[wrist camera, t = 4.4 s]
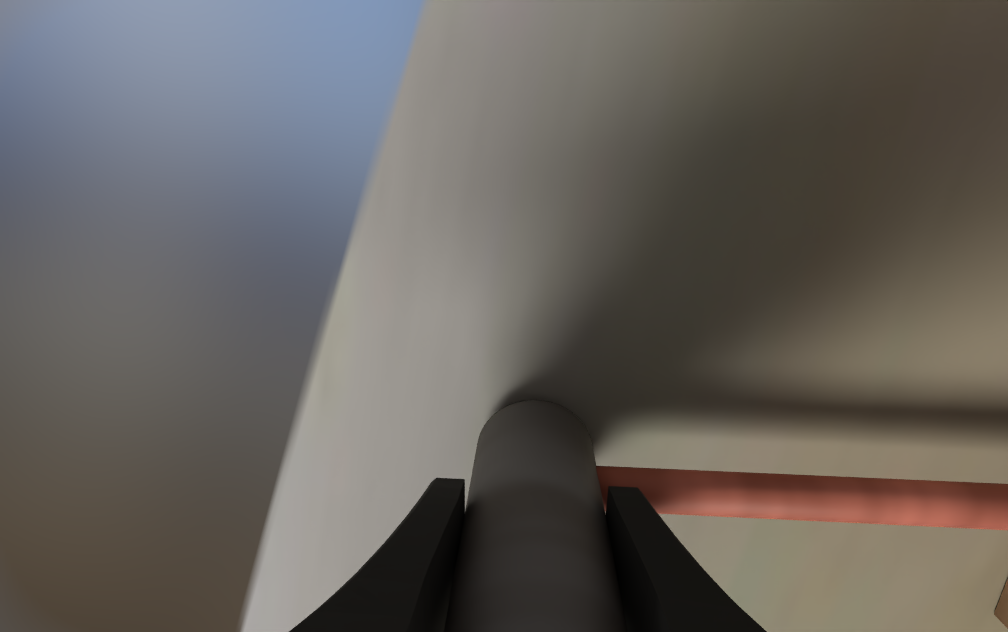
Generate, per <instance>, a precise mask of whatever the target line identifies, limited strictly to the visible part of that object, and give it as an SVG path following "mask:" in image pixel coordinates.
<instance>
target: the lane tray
mask: <svg viewBox="0 0 1008 632" xmlns="http://www.w3.org/2000/svg"><path fill="white" fill-rule="evenodd" d="M994 615H995V616H996V617H997V618H998V619H999V620H1000V621H1001V622H1002V623H1003V624H1004V625H1005V626H1006V627H1007V628H1008V579H1007V582H1006V584H1005V587H1004V589H1003V592H1002V595H1001V597H1000V600H999V602H998V605H997V607H996V610H995V613H994Z"/></svg>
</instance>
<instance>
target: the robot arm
mask: <svg viewBox="0 0 1008 632" xmlns="http://www.w3.org/2000/svg"><path fill="white" fill-rule="evenodd" d="M464 516H465V479H448V478H436V479H435V480H433V481H432V482H431V483H430V485H429V486H428V488H427V489H426V491H425V492H424V494H423V495H422V496H421V498H420V499H419V501H418V502H417V503H416V505H415V506H414V507H413V508H412V510H411V511H410V512H409V514H408V515H407V516H406V518H405V519H404V520H403V521H402V522H401V524H400V525H399V526H398V527H397V528H396V530H395V531H394V532H393V533H392V534H391V536H390V537H389V538H388V539H387V540H386V542H385V543H384V544H383V545H382V546H381V547H380V548H379V549H378V550H377V551H376V552H375V554H374V555H373V556H372V557H371V558H370V559H369V560H368V561H367V562H366V563H365V564H364V565H363V566H362V567H361V568H360V570H359V571H358V572H357V573H356V574H355V575H354V576H353V577H352V578H350V579H349V580H348V581H347V582H346V583H345V584H344V585H343V586H342V587H341V588H340V589H339V590H338V591H337V592H336V593H335V594H334V595H332V596H331V597H330V598H329V599H328V600H327V601H326V602H325V603H323V604H322V605H321V606H320V607H319V608H318V609H317V610H315V611H314V612H313V613H312V614H310V615H309V616H308V617H307V618H305V619H304V620H303V621H302V622H301V623H299V624H298V625H297V626H296V627H294V628H293V629H292V630H291V631H289V632H444V628H445V622H446V617H447V611H448V606H449V600H450V594H451V589H452V583H453V578H454V572H455V566H456V561H457V555H458V550H459V544H460V538H461V533H462V527H463V522H464ZM606 520H607V525H608V531H609V536H610V541H611V547H612V552H613V557H614V562H615V568H616V573H617V578H618V584H619V589H620V594H621V600H622V605H623V610H624V615H625V621H626V626H627V631H628V632H766V631H765V630H764V629H763V628H762V627H761V626H760V625H759V624H758V623H757V622H755V621H754V620H753V619H752V618H751V617H750V616H749V615H748V614H747V613H746V612H744V611H743V610H742V609H741V608H740V607H739V606H738V605H737V604H736V603H735V602H734V601H733V600H732V599H731V598H730V597H729V596H728V595H727V594H726V593H725V592H724V591H723V590H722V589H721V588H720V587H719V585H718V584H717V583H716V582H715V581H714V580H713V579H712V578H711V577H710V576H709V575H708V574H707V573H706V571H705V570H704V569H703V568H702V567H701V566H700V565H699V564H698V562H697V561H696V560H695V559H694V558H693V556H692V555H691V554H690V553H689V552H688V551H687V549H686V548H685V547H684V546H683V545H682V544H681V542H680V541H679V540H678V539H677V537H676V536H675V535H674V534H673V532H672V531H671V530H670V529H669V527H668V526H667V525H666V524H665V522H664V521H663V520H662V518H661V517H660V516H659V514H658V513H657V512H656V510H655V509H654V508H653V506H652V505H651V504H650V502H649V501H648V500H647V498H646V497H645V496H644V494H643V493H642V492H641V491H640V490H639V488H638V487H619V486H608V495H607V505H606Z"/></svg>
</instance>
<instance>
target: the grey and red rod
mask: <svg viewBox="0 0 1008 632" xmlns="http://www.w3.org/2000/svg"><path fill="white" fill-rule="evenodd" d="M608 486H619V487H638V488H639V490H640V491H641V492H642V493H643V494H644V496H645V497H646V498H647V500H648V501H649V502H650V504H651V505H652V506H653V508H654V509H655V510H656V512H657V513H659V514H680V515H701V516H722V517H743V518H764V519H785V520H806V521H827V522H848V523H869V524H890V525H911V526H932V527H953V528H974V529H995V530H1008V484H995V483H972V482H949V481H927V480H904V479H881V478H859V477H836V476H814V475H791V474H768V473H746V472H723V471H700V470H678V469H655V468H633V467H610V466H596V462H595V457H594V451H593V446H592V441H591V438H590V435H589V433H588V430H587V429H586V427H585V426H584V424H583V423H582V422H581V420H580V419H579V418H578V417H577V416H576V415H574V414H573V413H572V412H570V411H569V410H567V409H566V408H564V407H562V406H560V405H557V404H554V403H551V402H546V401H538V400H530V401H522V402H518V403H514V404H511V405H509V406H506V407H505V408H503V409H501V410H499V411H498V412H497V413H495V414H494V415H493V416H492V417H491V418H490V419H489V420H488V421H487V423H486V424H485V425H484V427H483V429H482V431H481V433H480V436H479V439H478V443H477V449H476V454H475V460H474V466H473V471H472V477H471V482H470V488H469V494H468V499H467V505H466V510H465V516H464V522H463V527H462V533H461V538H460V544H459V550H458V555H457V561H456V566H455V572H454V578H453V583H452V589H451V594H450V600H449V606H448V611H447V617H446V622H445V628H444V632H628V631H627V626H626V621H625V615H624V610H623V605H622V600H621V594H620V589H619V584H618V578H617V573H616V568H615V562H614V557H613V552H612V547H611V541H610V536H609V531H608V525H607V520H606V515H605V511H606V505H607V495H608Z"/></svg>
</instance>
